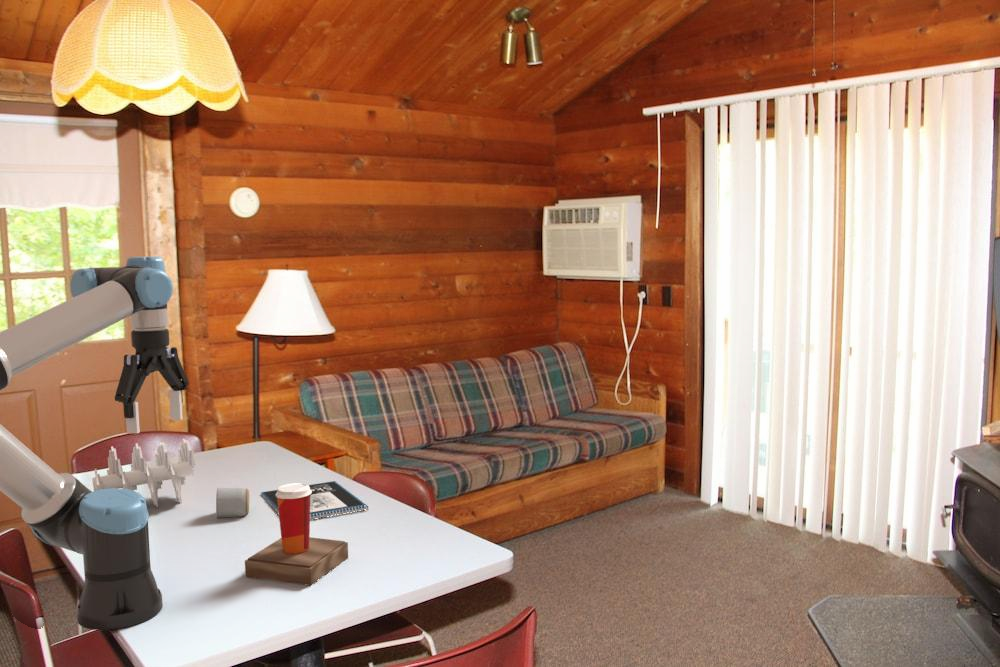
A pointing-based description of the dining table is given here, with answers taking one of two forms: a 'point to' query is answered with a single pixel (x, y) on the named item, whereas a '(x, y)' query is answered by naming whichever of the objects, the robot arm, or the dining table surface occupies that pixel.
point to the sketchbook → (325, 500)
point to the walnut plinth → (297, 561)
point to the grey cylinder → (232, 502)
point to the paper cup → (294, 517)
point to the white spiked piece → (148, 471)
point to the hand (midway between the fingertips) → (155, 426)
